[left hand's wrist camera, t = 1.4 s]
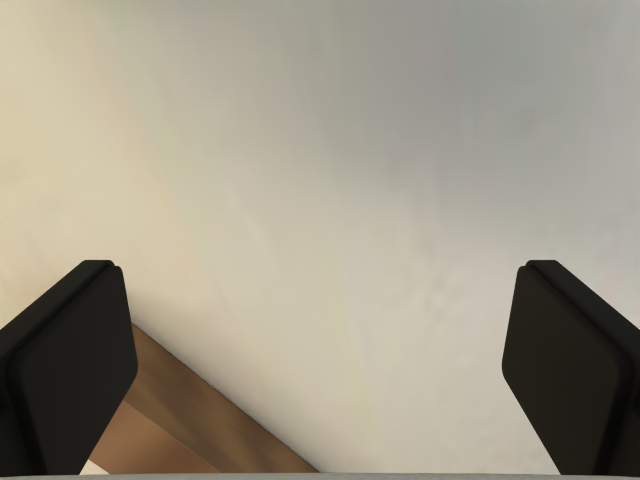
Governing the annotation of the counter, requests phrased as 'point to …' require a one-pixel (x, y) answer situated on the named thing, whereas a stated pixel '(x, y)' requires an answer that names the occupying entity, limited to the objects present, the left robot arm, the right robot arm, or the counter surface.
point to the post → (185, 426)
